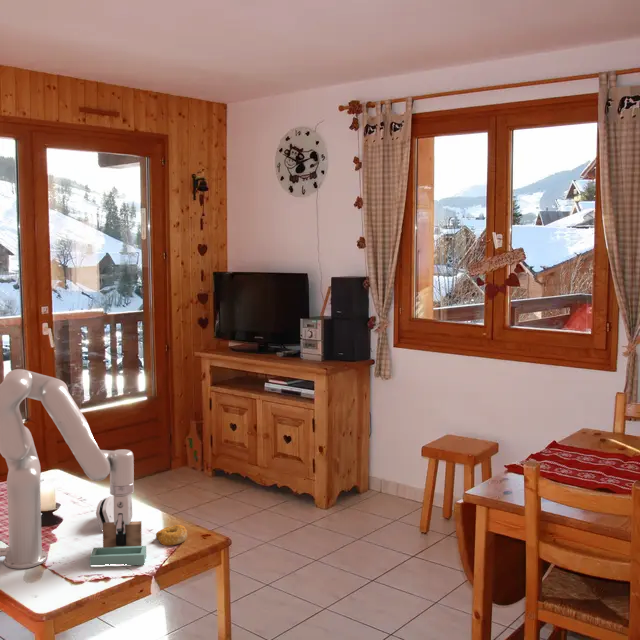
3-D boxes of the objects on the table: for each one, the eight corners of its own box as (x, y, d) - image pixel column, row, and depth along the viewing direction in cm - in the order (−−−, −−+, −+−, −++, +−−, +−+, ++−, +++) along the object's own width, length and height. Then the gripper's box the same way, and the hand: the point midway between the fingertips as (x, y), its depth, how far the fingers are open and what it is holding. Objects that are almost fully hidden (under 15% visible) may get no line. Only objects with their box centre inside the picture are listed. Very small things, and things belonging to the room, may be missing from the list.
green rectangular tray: (90, 567, 232) (90, 556, 231) (93, 558, 238) (93, 547, 238) (144, 565, 234) (144, 554, 233) (146, 556, 241) (146, 545, 240)
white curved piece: (116, 532, 260) (106, 505, 258) (103, 536, 260) (93, 510, 258) (126, 514, 276) (116, 489, 275) (114, 518, 276) (104, 493, 275)
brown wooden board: (103, 551, 243) (102, 525, 242) (104, 548, 246) (104, 522, 245) (140, 550, 245) (140, 524, 244) (141, 547, 247) (141, 521, 246)
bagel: (168, 532, 261) (168, 519, 260) (193, 538, 256) (193, 525, 255) (149, 542, 252) (149, 528, 251) (175, 549, 247) (175, 536, 246)
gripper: (130, 496, 235) (131, 551, 237) (136, 479, 252) (137, 530, 254) (106, 497, 234) (106, 552, 236) (113, 479, 251) (114, 531, 253)
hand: (122, 540), depth 245 cm, fingers open, 6 cm apart
